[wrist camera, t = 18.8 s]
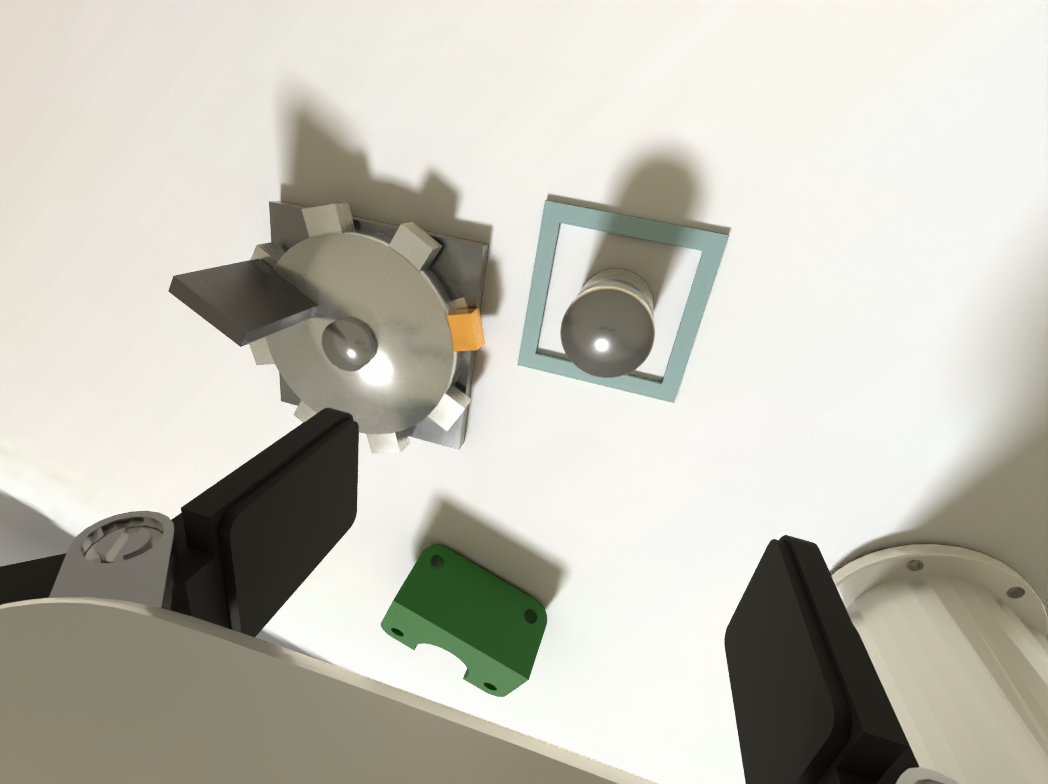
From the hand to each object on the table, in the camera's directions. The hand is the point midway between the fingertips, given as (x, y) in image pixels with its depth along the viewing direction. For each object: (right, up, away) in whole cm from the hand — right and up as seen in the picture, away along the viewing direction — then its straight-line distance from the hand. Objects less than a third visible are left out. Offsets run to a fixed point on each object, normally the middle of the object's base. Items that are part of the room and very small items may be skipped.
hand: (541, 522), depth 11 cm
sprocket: (-11, +7, +21) cm, 25 cm away
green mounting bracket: (-4, -14, +30) cm, 34 cm away
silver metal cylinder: (+5, +8, +18) cm, 20 cm away
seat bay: (+5, +8, +18) cm, 20 cm away
